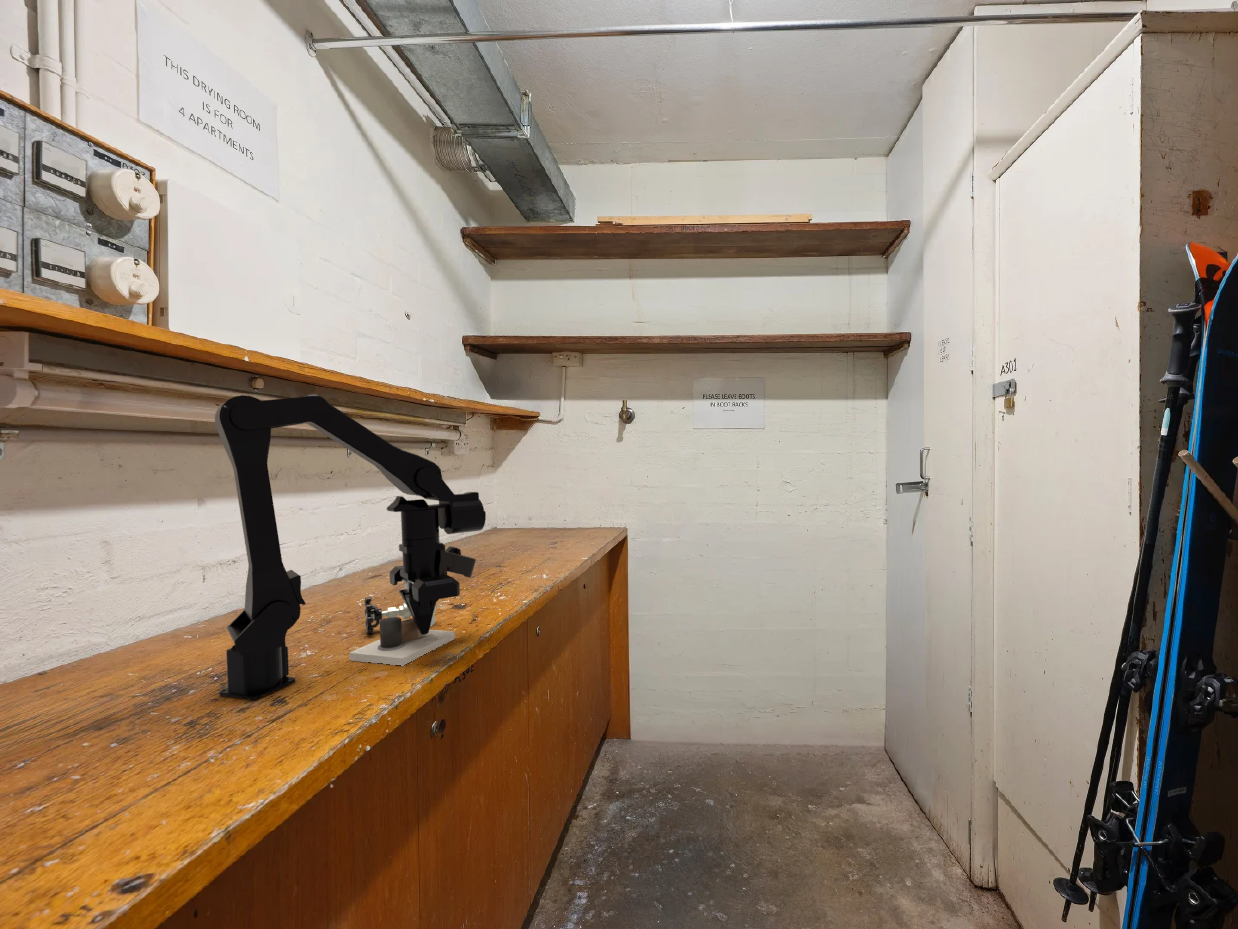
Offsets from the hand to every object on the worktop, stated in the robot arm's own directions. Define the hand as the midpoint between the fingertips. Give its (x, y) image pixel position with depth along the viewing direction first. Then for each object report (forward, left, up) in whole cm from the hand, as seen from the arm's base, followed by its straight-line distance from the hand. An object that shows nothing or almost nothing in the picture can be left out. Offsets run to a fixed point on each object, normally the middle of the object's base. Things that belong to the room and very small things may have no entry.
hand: (424, 633), depth 92 cm
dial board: (-1, +3, -2) cm, 4 cm away
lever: (-1, +3, -1) cm, 3 cm away
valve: (+8, +11, -3) cm, 14 cm away
